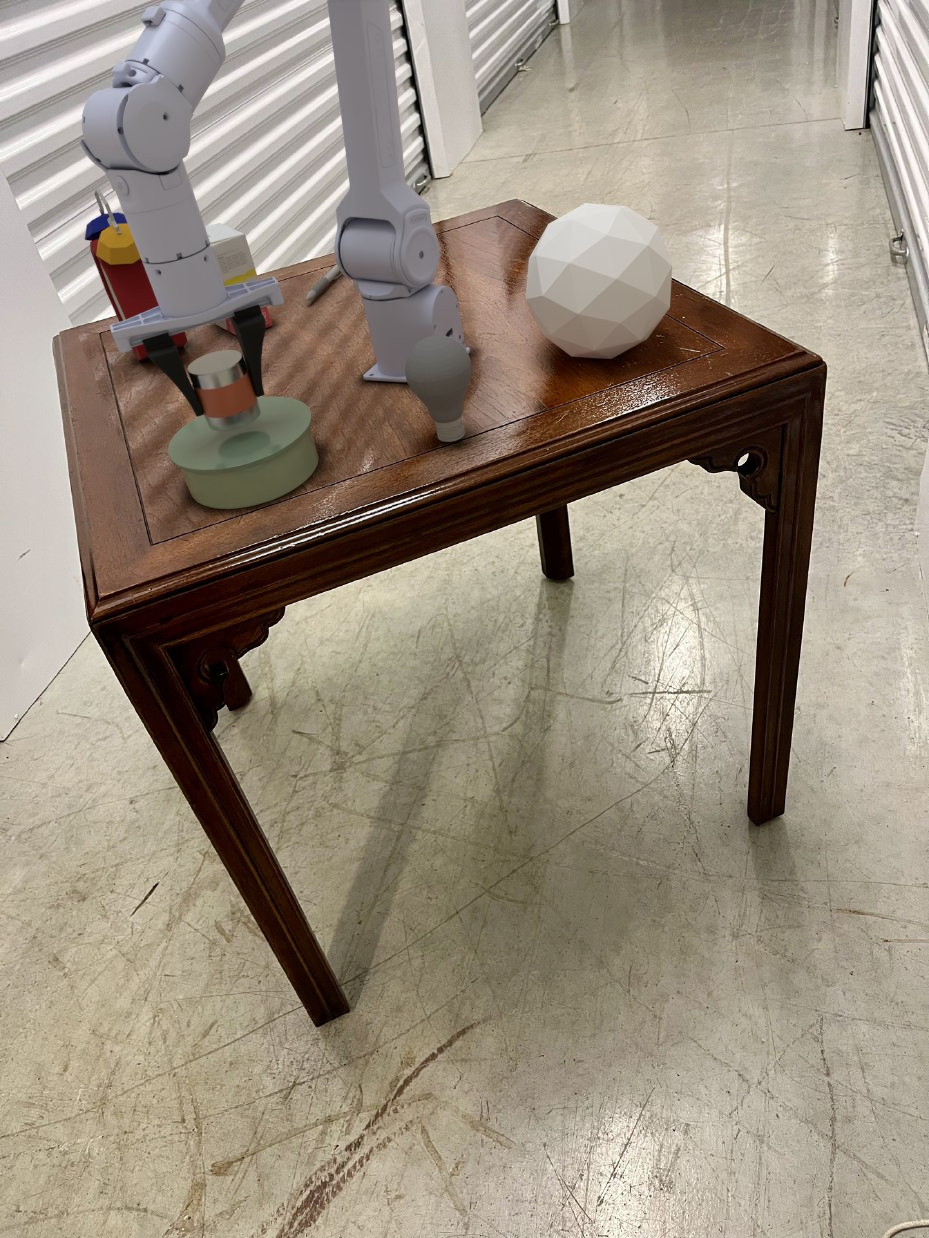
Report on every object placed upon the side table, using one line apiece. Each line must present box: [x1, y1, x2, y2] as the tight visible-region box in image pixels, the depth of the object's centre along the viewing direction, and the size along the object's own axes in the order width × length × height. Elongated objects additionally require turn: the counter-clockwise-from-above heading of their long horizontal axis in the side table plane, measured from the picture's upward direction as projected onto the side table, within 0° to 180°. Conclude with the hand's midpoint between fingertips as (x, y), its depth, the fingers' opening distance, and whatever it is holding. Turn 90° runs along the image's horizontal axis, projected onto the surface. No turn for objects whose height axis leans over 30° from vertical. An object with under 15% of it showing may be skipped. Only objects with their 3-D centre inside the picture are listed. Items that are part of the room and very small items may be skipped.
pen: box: [306, 263, 343, 301], centre depth 128 cm, size 1×14×1 cm, turn 164°
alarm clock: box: [84, 187, 188, 362], centre depth 113 cm, size 15×9×20 cm, turn 27°
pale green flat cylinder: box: [167, 395, 319, 510], centre depth 89 cm, size 14×14×4 cm
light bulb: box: [405, 335, 473, 443], centre depth 86 cm, size 6×6×10 cm
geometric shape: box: [524, 202, 673, 360], centre depth 94 cm, size 14×15×15 cm
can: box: [186, 349, 261, 431], centre depth 85 cm, size 5×5×6 cm
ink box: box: [205, 222, 273, 337], centre depth 118 cm, size 9×5×12 cm, turn 35°
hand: (229, 401), depth 86 cm, fingers closed on can, 5 cm apart
